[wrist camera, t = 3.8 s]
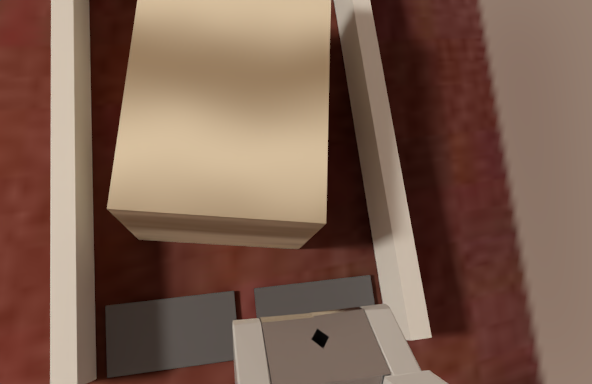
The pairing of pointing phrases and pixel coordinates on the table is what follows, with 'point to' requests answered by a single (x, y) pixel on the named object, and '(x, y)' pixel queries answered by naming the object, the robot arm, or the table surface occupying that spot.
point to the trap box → (220, 306)
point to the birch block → (225, 123)
